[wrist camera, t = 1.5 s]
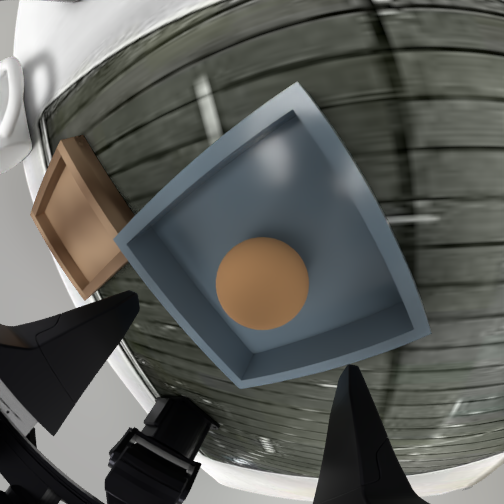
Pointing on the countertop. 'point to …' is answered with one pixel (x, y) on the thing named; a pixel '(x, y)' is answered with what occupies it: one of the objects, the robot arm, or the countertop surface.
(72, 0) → the supplement bottle
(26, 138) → the mug
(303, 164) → the dish
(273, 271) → the ball
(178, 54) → the countertop surface
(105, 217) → the tray
